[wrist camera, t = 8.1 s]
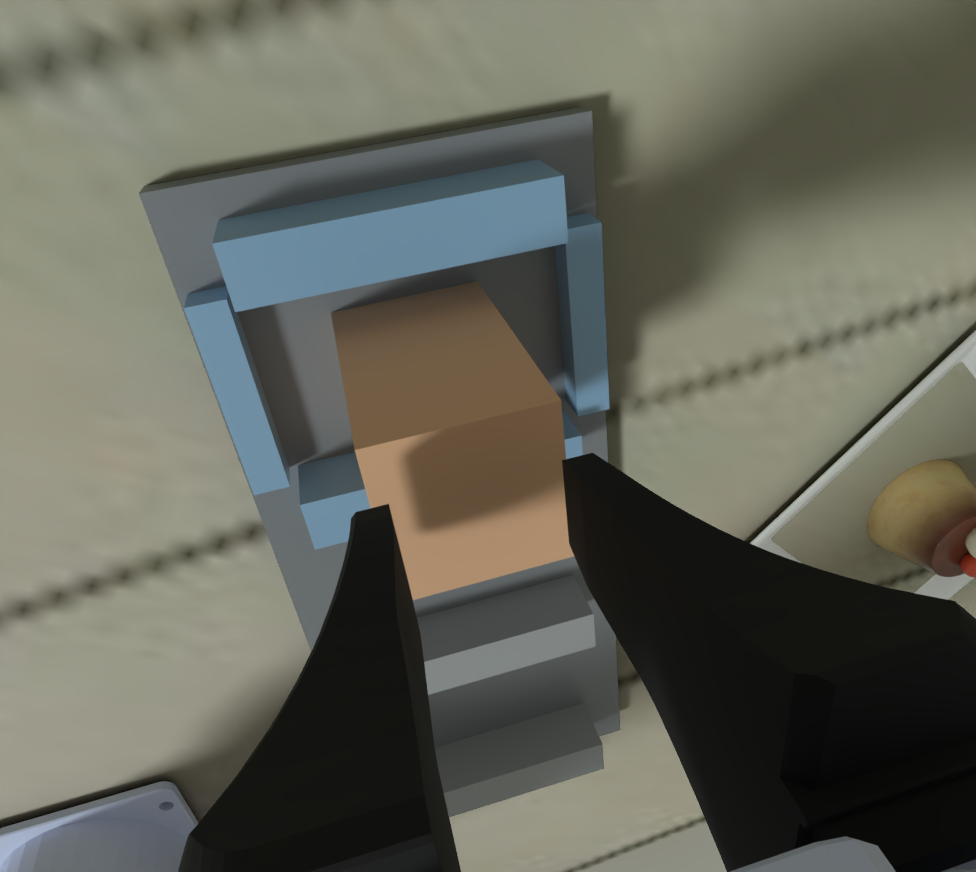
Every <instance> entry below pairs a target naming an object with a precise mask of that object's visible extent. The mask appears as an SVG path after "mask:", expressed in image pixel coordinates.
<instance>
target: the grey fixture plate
mask: <svg viewBox="0 0 976 872" xmlns="http://www.w3.org/2000/svg"><path fill="white" fill-rule="evenodd" d="M139 195H140V198H141V200H142V203H143V205H144V208H145V211H146V213H147V216H148V219H149V221H150V224H151V227H152V229H153V232H154V235H155V237H156V240H157V243H158V245H159V248H160V251H161V253H162V256H163V259H164V261H165V264H166V267H167V269H168V272H169V275H170V277H171V280H172V282H173V285H174V288H175V290H176V293H177V296H178V298H179V301H180V304H181V306H182V309H183V312H184V314H185V317H186V320H187V322H188V325H189V328H190V330H191V333H192V336H193V338H194V341H195V344H196V346H197V349H198V352H199V354H200V357H201V360H202V362H203V365H204V367H205V370H206V373H207V375H208V378H209V381H210V383H211V386H212V389H213V391H214V394H215V397H216V399H217V402H218V405H219V407H220V410H221V413H222V415H223V418H224V421H225V423H226V426H227V429H228V431H229V434H230V437H231V439H232V442H233V444H234V447H235V450H236V452H237V455H238V458H239V460H240V463H241V466H242V468H243V471H244V474H245V476H246V479H247V482H248V484H249V487H250V490H251V492H252V495H253V498H254V500H255V503H256V506H257V508H258V511H259V514H260V516H261V519H262V522H263V524H264V527H265V529H266V532H267V535H268V537H269V540H270V543H271V545H272V548H273V551H274V553H275V556H276V559H277V561H278V564H279V567H280V569H281V572H282V575H283V577H284V580H285V583H286V585H287V588H288V591H289V593H290V596H291V599H292V601H293V604H294V607H295V609H296V612H297V614H298V617H299V620H300V622H301V625H302V628H303V630H304V633H305V636H306V638H307V641H308V644H309V646H310V649H311V651H312V649H313V647H314V645H315V642H316V640H317V638H318V636H319V633H320V631H321V628H322V625H323V623H324V620H325V617H326V615H327V612H328V609H329V607H330V604H331V602H332V599H333V596H334V593H335V589H336V586H337V583H338V579H339V576H340V572H341V569H342V566H343V562H344V558H345V553H346V549H347V544H348V539H349V533H350V524H351V518H352V516H353V515H354V514H355V512H358V511H362V510H366V509H370V505H369V501H368V497H367V494H366V490H365V486H364V483H363V479H362V475H361V472H360V468H359V464H358V461H357V457H356V453H355V449H354V444H353V438H352V432H351V426H350V421H349V415H348V409H347V403H346V398H345V392H344V386H343V380H342V375H341V369H340V363H339V357H338V352H337V346H336V340H335V334H334V329H333V323H332V317H331V312H336V311H341V310H345V309H350V308H355V307H359V306H364V305H369V304H373V303H378V302H383V301H387V300H392V299H397V298H401V297H406V296H411V295H415V294H420V293H425V292H429V291H434V290H439V289H443V288H448V287H453V286H457V285H462V284H467V283H471V282H476V281H478V283H479V284H480V286H481V287H482V289H483V290H484V291H485V293H486V294H487V296H488V297H489V298H490V300H491V301H492V303H493V304H494V306H495V307H496V308H497V310H498V311H499V313H500V314H501V316H502V317H503V318H504V320H505V321H506V323H507V324H508V325H509V327H510V328H511V330H512V331H513V333H514V334H515V335H516V337H517V338H518V340H519V341H520V343H521V344H522V345H523V347H524V348H525V350H526V351H527V352H528V354H529V355H530V357H531V358H532V360H533V361H534V362H535V364H536V365H537V367H538V368H539V370H540V371H541V372H542V374H543V375H544V377H545V378H546V380H547V381H548V382H549V384H550V385H551V387H552V388H553V389H554V391H555V392H556V394H557V395H558V397H559V398H560V399H561V404H562V416H563V428H564V439H565V451H566V459H569V458H573V457H577V456H581V455H585V454H589V453H594V454H596V455H597V456H599V457H600V458H602V459H603V460H605V461H606V462H608V450H607V428H606V410H607V409H610V408H609V384H608V360H607V336H606V313H605V289H604V265H603V241H602V222H601V221H599V220H598V219H597V206H596V184H595V162H594V140H593V118H592V111H591V110H589V109H586V108H583V107H577V108H571V109H566V110H560V111H555V112H549V113H544V114H538V115H533V116H527V117H522V118H516V119H511V120H505V121H500V122H494V123H489V124H483V125H478V126H472V127H467V128H461V129H456V130H450V131H445V132H439V133H434V134H428V135H423V136H417V137H412V138H406V139H401V140H395V141H390V142H384V143H379V144H373V145H367V146H362V147H356V148H351V149H345V150H340V151H334V152H329V153H323V154H318V155H312V156H307V157H301V158H296V159H290V160H285V161H279V162H274V163H268V164H263V165H257V166H252V167H246V168H241V169H235V170H230V171H224V172H219V173H213V174H208V175H202V176H197V177H191V178H186V179H180V180H175V181H169V182H164V183H158V184H153V185H147V186H144V187H143V189H142V190H141V191H140V193H139ZM413 603H414V608H415V612H416V616H417V621H418V625H419V629H420V634H421V641H422V649H423V657H424V665H425V673H426V681H427V690H428V698H429V706H430V714H431V723H432V731H433V739H434V746H435V752H436V758H437V764H438V770H439V774H440V779H441V783H442V788H443V792H444V797H445V802H446V806H447V811H448V815H449V817H451V816H454V815H457V814H461V813H464V812H467V811H470V810H473V809H477V808H480V807H483V806H486V805H489V804H492V803H496V802H499V801H502V800H505V799H508V798H511V797H515V796H518V795H521V794H524V793H527V792H531V791H534V790H537V789H540V788H543V787H546V786H550V785H553V784H556V783H559V782H562V781H565V780H569V779H572V778H575V777H578V776H581V775H585V774H588V773H591V772H594V771H597V770H600V769H604V762H603V747H602V742H601V740H600V738H599V736H602V735H605V734H608V733H612V732H615V731H618V730H620V715H619V693H618V671H617V649H616V635H615V633H614V632H613V630H612V628H611V627H610V625H609V623H608V622H607V620H606V618H605V616H604V615H603V613H602V611H601V610H600V608H599V606H598V604H597V603H596V601H595V599H594V598H593V596H592V594H591V592H590V591H589V589H588V587H587V585H586V582H585V580H584V578H583V575H582V573H581V571H580V569H579V566H578V564H577V561H576V559H575V556H574V557H570V558H566V559H563V560H559V561H555V562H552V563H548V564H544V565H541V566H537V567H533V568H529V569H526V570H522V571H518V572H515V573H511V574H507V575H504V576H500V577H496V578H493V579H489V580H485V581H482V582H478V583H474V584H471V585H467V586H463V587H460V588H456V589H452V590H449V591H445V592H441V593H438V594H434V595H430V596H427V597H423V598H419V599H416V600H413Z"/></svg>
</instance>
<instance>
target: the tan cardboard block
mask: <svg viewBox="0 0 976 872" xmlns="http://www.w3.org/2000/svg"><path fill="white" fill-rule="evenodd" d="M331 317H332V323H333V329H334V334H335V340H336V346H337V352H338V357H339V363H340V369H341V375H342V380H343V386H344V392H345V398H346V403H347V409H348V415H349V421H350V426H351V432H352V438H353V444H354V449H355V453H356V457H357V461H358V464H359V468H360V472H361V475H362V479H363V483H364V486H365V490H366V494H367V497H368V501H369V505H370V508H374V507H378V506H382V505H386V504H389V507H390V511H391V515H392V519H393V523H394V527H395V531H396V535H397V539H398V543H399V547H400V550H401V554H402V558H403V562H404V566H405V570H406V574H407V578H408V582H409V586H410V590H411V595H412V599H413V600H416V599H419V598H423V597H427V596H430V595H434V594H438V593H441V592H445V591H449V590H452V589H456V588H460V587H463V586H467V585H471V584H474V583H478V582H482V581H485V580H489V579H493V578H496V577H500V576H504V575H507V574H511V573H515V572H518V571H522V570H526V569H529V568H533V567H537V566H541V565H544V564H548V563H552V562H555V561H559V560H563V559H566V558H570V557H574V554H573V552H572V549H571V547H570V544H569V537H568V525H567V513H566V502H565V490H564V479H563V467H562V460H565V459H566V451H565V439H564V428H563V416H562V404H561V399H560V398H559V397H558V395H557V394H556V392H555V391H554V389H553V388H552V387H551V385H550V384H549V382H548V381H547V380H546V378H545V377H544V375H543V374H542V372H541V371H540V370H539V368H538V367H537V365H536V364H535V362H534V361H533V360H532V358H531V357H530V355H529V354H528V352H527V351H526V350H525V348H524V347H523V345H522V344H521V343H520V341H519V340H518V338H517V337H516V335H515V334H514V333H513V331H512V330H511V328H510V327H509V325H508V324H507V323H506V321H505V320H504V318H503V317H502V316H501V314H500V313H499V311H498V310H497V308H496V307H495V306H494V304H493V303H492V301H491V300H490V298H489V297H488V296H487V294H486V293H485V291H484V290H483V289H482V287H481V286H480V284H479V283H478V281H476V282H471V283H467V284H462V285H457V286H453V287H448V288H443V289H439V290H434V291H429V292H425V293H420V294H415V295H411V296H406V297H401V298H397V299H392V300H387V301H383V302H378V303H373V304H369V305H364V306H359V307H355V308H350V309H345V310H341V311H336V312H331Z"/></svg>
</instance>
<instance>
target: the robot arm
mask: <svg viewBox="0 0 976 872" xmlns="http://www.w3.org/2000/svg"><path fill="white" fill-rule="evenodd" d="M562 467H563V479H564V490H565V502H566V513H567V525H568V537H569V544H570V547H571V549H572V552H573V554H574V556H575V559H576V561H577V564H578V566H579V569H580V571H581V573H582V575H583V578H584V580H585V582H586V585H587V587H588V589H589V591H590V592H591V594H592V596H593V598H594V599H595V601H596V603H597V604H598V606H599V608H600V610H601V611H602V613H603V615H604V616H605V618H606V620H607V622H608V623H609V625H610V627H611V628H612V630H613V632H614V633H615V635H616V637H617V639H618V640H619V642H620V644H621V645H622V647H623V649H624V650H625V652H626V654H627V655H628V657H629V659H630V660H631V662H632V664H633V666H634V667H635V669H636V671H637V672H638V674H639V676H640V677H641V679H642V681H643V683H644V685H645V686H646V688H647V690H648V692H649V694H650V696H651V698H652V700H653V702H654V704H655V706H656V708H657V710H658V712H659V715H660V717H661V719H662V721H663V723H664V726H665V728H666V730H667V732H668V734H669V736H670V739H671V741H672V743H673V745H674V747H675V750H676V752H677V754H678V756H679V759H680V761H681V763H682V766H683V768H684V770H685V772H686V775H687V777H688V779H689V782H690V784H691V786H692V788H693V791H694V793H695V795H696V798H697V800H698V802H699V805H700V807H701V810H702V812H703V814H704V817H705V819H706V822H707V824H708V826H709V829H710V831H711V834H712V836H713V838H714V841H715V843H716V846H717V848H718V850H719V853H720V855H721V858H722V860H723V863H724V865H725V868H726V870H727V872H976V619H975V618H974V617H973V616H972V615H971V614H969V613H968V612H967V611H966V610H965V609H964V608H962V607H961V606H960V605H958V604H957V603H956V602H955V601H951V600H946V599H941V598H936V597H931V596H926V595H921V594H915V593H910V592H905V591H900V590H895V589H890V588H886V587H881V586H878V585H874V584H870V583H866V582H862V581H858V580H855V579H851V578H847V577H843V576H840V575H837V574H833V573H830V572H826V571H823V570H820V569H817V568H814V567H811V566H808V565H805V564H802V563H799V562H796V561H794V560H791V559H788V558H785V557H782V556H780V555H777V554H774V553H772V552H769V551H767V550H764V549H762V548H759V547H757V546H755V545H752V544H750V543H748V542H746V541H743V540H741V539H739V538H736V537H734V536H732V535H730V534H728V533H726V532H723V531H721V530H719V529H717V528H715V527H713V526H711V525H710V524H708V523H706V522H704V521H702V520H700V519H698V518H696V517H694V516H692V515H691V514H689V513H687V512H685V511H683V510H682V509H680V508H678V507H676V506H675V505H673V504H671V503H670V502H668V501H666V500H665V499H663V498H661V497H660V496H658V495H656V494H655V493H653V492H652V491H650V490H649V489H647V488H645V487H644V486H642V485H641V484H639V483H638V482H636V481H635V480H633V479H632V478H630V477H629V476H627V475H626V474H624V473H623V472H621V471H620V470H618V469H617V468H615V467H614V466H612V465H611V464H609V463H608V462H606V461H605V460H603V459H602V458H600V457H599V456H597V455H596V454H594V453H589V454H585V455H581V456H577V457H573V458H569V459H565V460H562ZM0 872H461V870H460V865H459V861H458V856H457V852H456V847H455V843H454V838H453V834H452V829H451V824H450V820H449V815H448V811H447V806H446V802H445V797H444V792H443V788H442V783H441V779H440V774H439V770H438V764H437V758H436V752H435V746H434V739H433V731H432V723H431V714H430V706H429V698H428V690H427V681H426V673H425V665H424V657H423V649H422V641H421V634H420V629H419V625H418V621H417V616H416V612H415V608H414V603H413V599H412V595H411V590H410V586H409V582H408V578H407V574H406V570H405V566H404V562H403V558H402V554H401V550H400V547H399V543H398V539H397V535H396V531H395V527H394V523H393V519H392V515H391V511H390V507H389V504H386V505H382V506H378V507H374V508H370V509H366V510H362V511H358V512H355V514H354V515H353V516H352V518H351V524H350V533H349V539H348V544H347V549H346V553H345V558H344V562H343V566H342V569H341V572H340V576H339V579H338V583H337V586H336V589H335V593H334V596H333V599H332V602H331V604H330V607H329V609H328V612H327V615H326V617H325V620H324V623H323V625H322V628H321V631H320V633H319V636H318V638H317V640H316V642H315V645H314V647H313V649H312V651H311V654H310V656H309V658H308V660H307V662H306V664H305V666H304V668H303V670H302V672H301V674H300V676H299V678H298V680H297V682H296V684H295V685H294V687H293V689H292V691H291V693H290V694H289V696H288V698H287V700H286V702H285V703H284V705H283V707H282V709H281V710H280V712H279V714H278V715H277V717H276V719H275V720H274V722H273V723H272V725H271V727H270V728H269V730H268V731H267V733H266V734H265V736H264V737H263V739H262V740H261V741H260V743H259V744H258V746H257V747H256V749H255V750H254V752H253V753H252V755H251V756H250V757H249V759H248V760H247V762H246V763H245V765H244V766H243V768H242V769H241V771H240V772H239V773H238V775H237V776H236V777H235V779H234V780H233V781H232V783H231V784H230V785H229V787H228V788H227V789H226V790H225V791H224V793H223V794H222V795H221V796H220V798H219V799H218V800H217V801H216V803H215V804H214V805H213V806H212V807H211V809H210V810H209V811H208V812H207V814H206V815H205V816H204V817H203V819H202V820H201V821H200V822H199V823H198V821H197V819H196V818H195V816H194V815H193V813H192V811H191V810H190V808H189V806H188V805H187V803H186V802H185V800H184V798H183V797H182V795H181V793H180V792H179V790H178V788H177V787H176V786H175V785H174V784H173V783H171V782H167V781H162V782H157V783H153V784H150V785H147V786H143V787H140V788H136V789H133V790H129V791H126V792H123V793H119V794H116V795H112V796H109V797H105V798H102V799H99V800H95V801H92V802H88V803H85V804H81V805H78V806H75V807H71V808H68V809H64V810H61V811H57V812H54V813H51V814H47V815H44V816H40V817H37V818H33V819H30V820H27V821H23V822H20V823H16V824H13V825H9V826H6V827H2V828H0Z"/></svg>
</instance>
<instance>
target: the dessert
mask: <svg viewBox="0 0 976 872" xmlns="http://www.w3.org/2000/svg"><path fill="white" fill-rule="evenodd" d="M960 362H962V363H964V364H965V365H966V367H967V368H968V369H969V371H970V372H971V373H972V374H973V376H974V377H975V378H976V330H975V331H974V332H973V333H972V334H971V335H970V336H969V337H968V338H966V339H965V340H964V341H963V342H962V343H961V344H960V345H959V346H958V347H957V348H956V349H955V350H954V351H953V352H952V353H951V354H950V355H948V356H947V357H946V358H945V359H944V360H943V361H942V362H941V363H940V364H939V365H938V366H937V367H936V368H935V369H934V370H933V371H931V372H930V373H929V374H928V375H927V376H926V377H925V378H924V379H923V380H922V381H921V382H920V383H919V384H918V385H917V386H916V387H915V388H913V389H912V390H911V391H910V392H909V393H908V394H907V395H906V396H905V397H904V398H903V399H902V400H901V401H900V402H899V403H898V404H897V405H895V406H894V407H893V408H892V409H891V410H890V411H889V412H888V413H887V414H886V415H885V416H884V417H883V418H882V419H881V420H880V421H878V422H877V423H876V424H875V425H874V426H873V427H872V428H871V429H870V430H869V431H868V432H867V433H866V434H865V435H864V436H863V437H862V438H860V439H859V440H858V441H857V442H856V443H855V444H854V445H853V446H852V447H851V448H850V449H849V450H848V451H847V452H846V453H845V454H844V455H842V456H841V457H840V458H839V459H838V460H837V461H836V462H835V463H834V464H833V465H832V466H831V467H830V468H829V469H828V470H827V471H825V472H824V473H823V474H822V475H821V476H820V477H819V478H818V479H817V480H816V481H815V482H814V483H813V484H812V485H811V486H810V487H809V488H807V489H806V490H805V491H804V492H803V493H802V494H801V495H800V496H799V497H798V498H797V499H796V500H795V501H794V502H793V503H792V504H791V505H789V506H788V507H787V508H786V509H785V510H784V511H783V512H782V513H781V514H780V515H779V516H778V517H777V518H776V519H775V520H774V521H772V522H771V523H770V524H769V525H768V526H767V527H766V528H765V529H764V530H763V531H762V532H761V533H760V534H759V535H758V536H757V537H756V538H754V539H753V540H752V541H751V542H750V544H752V545H755V546H757V547H759V548H762V549H764V550H767V551H769V552H772V553H774V554H777V555H780V556H782V557H785V558H788V559H791V560H794V561H796V562H799V563H801V562H800V561H798V560H797V559H796V558H794V557H793V556H792V555H790V554H789V553H788V552H786V551H785V550H783V549H782V548H781V547H779V546H778V545H777V544H775V543H774V542H773V541H772V537H773V536H774V535H775V534H776V533H777V532H778V531H779V530H780V529H781V528H782V527H783V526H784V525H785V524H786V523H788V522H789V521H790V520H791V519H792V518H793V517H794V516H795V515H796V514H797V513H798V512H799V511H800V510H801V509H802V508H804V507H805V506H806V505H807V504H808V503H809V502H810V501H811V500H812V499H813V498H814V497H815V496H816V495H817V494H819V493H820V492H821V491H822V490H823V489H824V488H825V487H826V486H827V485H828V484H829V483H830V482H831V481H832V480H833V479H835V478H836V477H837V476H838V475H839V474H840V473H841V472H842V471H843V470H844V469H845V468H846V467H847V466H848V465H849V464H851V463H852V462H853V461H854V460H855V459H856V458H857V457H858V456H859V455H860V454H861V453H862V452H863V451H864V450H866V449H867V448H868V447H869V446H870V445H871V444H872V443H873V442H874V441H875V440H876V439H877V438H878V437H879V436H880V435H882V434H883V433H884V432H885V431H886V430H887V429H888V428H889V427H890V426H891V425H892V424H893V423H894V422H895V421H897V420H898V419H899V418H900V417H901V416H902V415H903V414H904V413H905V412H906V411H907V410H908V409H909V408H910V407H911V406H913V405H914V404H915V403H916V402H917V401H918V400H919V399H920V398H921V397H922V396H923V395H924V394H925V393H926V392H927V391H929V390H930V389H931V388H932V387H933V386H934V385H935V384H936V383H937V382H938V381H939V380H940V379H941V378H942V377H944V376H945V375H946V374H947V373H948V372H949V371H950V370H951V369H952V368H953V367H954V366H955V365H956V364H958V363H960ZM867 532H868V535H869V538H870V539H871V541H872V542H873V543H874V544H875V545H877V546H879V547H881V548H883V549H885V550H888V551H890V552H892V553H894V554H896V555H898V556H900V557H902V558H904V559H906V560H908V561H910V562H912V563H914V564H916V565H918V566H920V567H922V568H924V569H926V570H929V571H931V572H933V573H935V575H934V576H933V577H932V578H931V579H930V580H928V581H927V582H926V583H925V584H924V585H923V586H921V587H920V588H919V589H918V590H917V591H916V592H914V593H915V594H921V595H926V596H931V597H936V598H941V599H946V600H949V599H950V598H951V597H952V596H954V595H955V594H956V593H957V592H958V591H960V590H961V589H962V588H963V587H964V586H966V585H967V584H968V583H969V582H970V581H972V580H973V579H974V578H975V577H976V488H975V487H974V486H973V484H972V483H971V482H970V480H969V479H968V477H967V476H966V475H965V473H964V472H963V470H962V469H961V468H960V466H958V465H957V464H956V463H954V462H952V461H948V460H932V461H928V462H924V463H921V464H919V465H916V466H914V467H912V468H910V469H909V470H907V471H905V472H904V473H902V474H901V475H899V476H898V477H897V478H896V479H894V480H893V481H892V482H891V483H890V484H889V485H888V486H887V487H886V488H885V489H884V490H883V491H882V493H881V494H880V495H879V497H878V498H877V499H876V501H875V503H874V504H873V506H872V508H871V511H870V513H869V517H868V521H867Z"/></svg>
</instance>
